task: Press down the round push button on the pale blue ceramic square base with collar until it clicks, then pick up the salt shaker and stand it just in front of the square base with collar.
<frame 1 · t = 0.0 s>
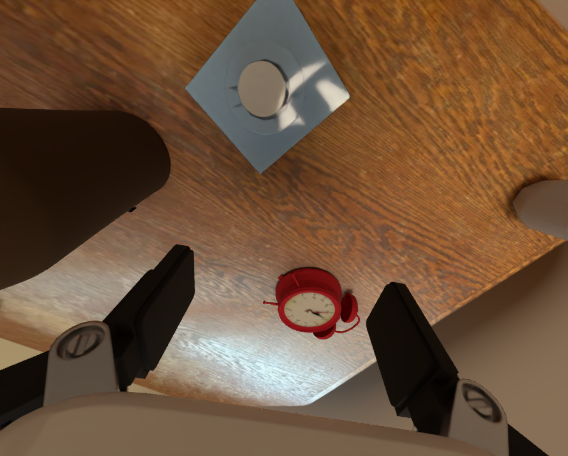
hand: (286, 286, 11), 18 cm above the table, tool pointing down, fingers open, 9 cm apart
olive oil: (132, 155, 26), on the table
round push button: (263, 91, 17), point 6 cm above the table, slide at 0.1 cm
square base with collar: (270, 94, 22), on the table
alarm clock: (316, 295, 36), on the table
salt shaker: (530, 197, 26), on the table
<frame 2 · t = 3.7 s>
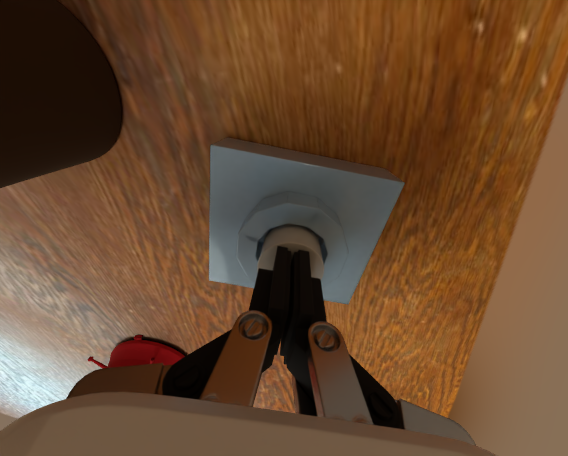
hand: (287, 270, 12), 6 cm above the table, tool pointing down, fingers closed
olive oil: (48, 84, 14), on the table
round push button: (290, 259, 13), point 5 cm above the table, slide at -0.2 cm, touching gripper
square base with collar: (292, 217, 17), on the table
alarm clock: (161, 367, 30), on the table
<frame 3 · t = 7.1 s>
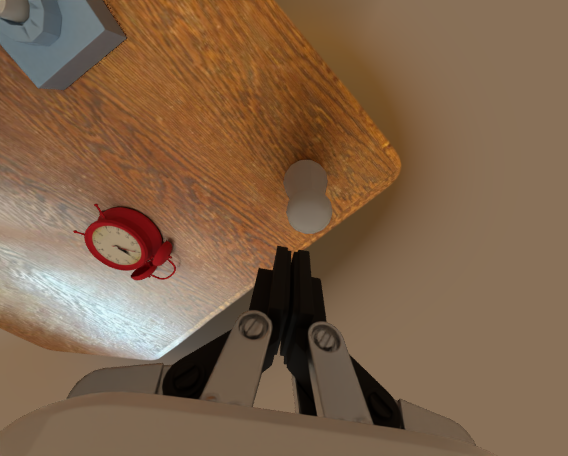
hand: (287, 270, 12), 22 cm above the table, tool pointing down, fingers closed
square base with collar: (57, 14, 24), on the table
alarm clock: (141, 240, 38), on the table
salt shaker: (304, 176, 31), on the table
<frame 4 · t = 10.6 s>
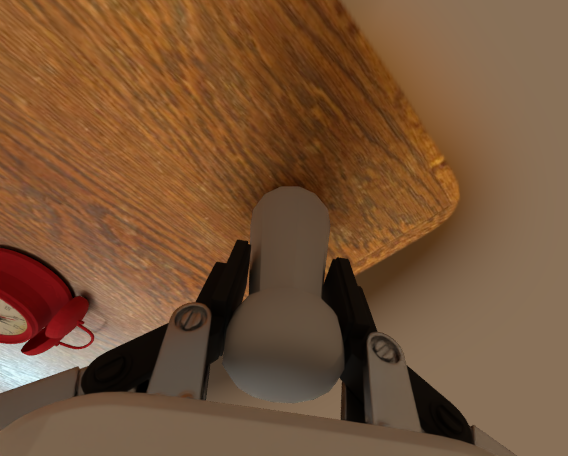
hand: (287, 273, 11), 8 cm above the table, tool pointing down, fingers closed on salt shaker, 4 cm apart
alarm clock: (43, 291, 25), on the table
salt shaker: (291, 210, 18), on the table, touching gripper
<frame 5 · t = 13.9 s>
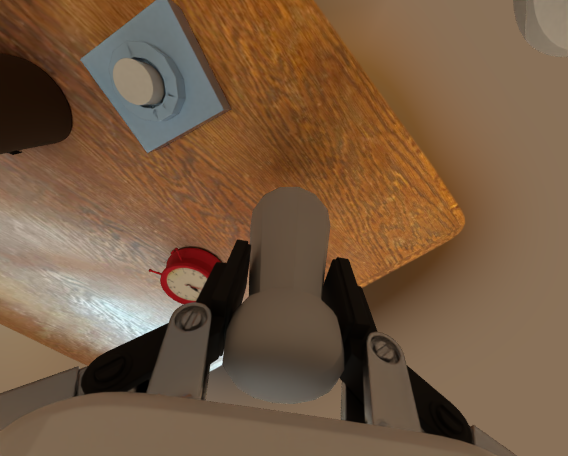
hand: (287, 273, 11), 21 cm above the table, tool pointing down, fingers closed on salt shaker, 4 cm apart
olive oil: (34, 103, 27), on the table
round push button: (140, 83, 21), point 6 cm above the table, slide at 0.1 cm
square base with collar: (169, 87, 26), on the table
alarm clock: (205, 275, 40), on the table
salt shaker: (290, 210, 18), point 13 cm above the table, touching gripper
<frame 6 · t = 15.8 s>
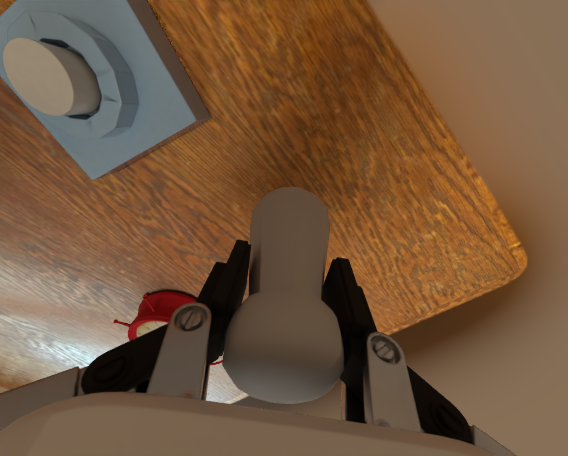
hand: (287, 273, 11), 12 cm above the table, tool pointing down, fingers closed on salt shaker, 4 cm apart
round push button: (56, 81, 13), point 6 cm above the table, slide at 0.1 cm
square base with collar: (122, 87, 18), on the table
alarm clock: (188, 320, 32), on the table
salt shaker: (290, 210, 18), point 4 cm above the table, touching gripper
when the fingers open (8 cm above the table, at t = 17.2 s): salt shaker stays where it is, on the table.
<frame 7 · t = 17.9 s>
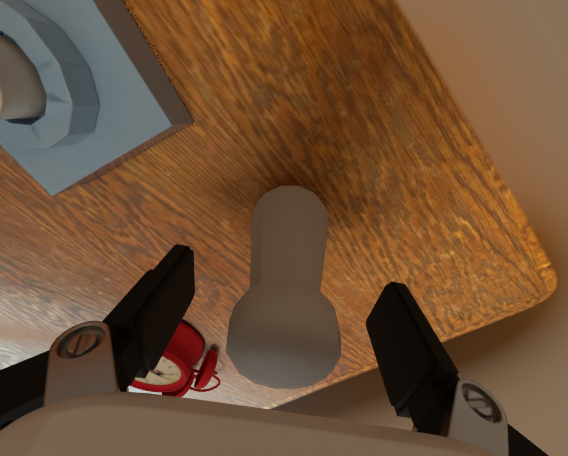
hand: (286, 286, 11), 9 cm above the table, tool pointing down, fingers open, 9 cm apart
square base with collar: (85, 85, 15), on the table
alarm clock: (176, 344, 29), on the table
salt shaker: (290, 208, 19), on the table
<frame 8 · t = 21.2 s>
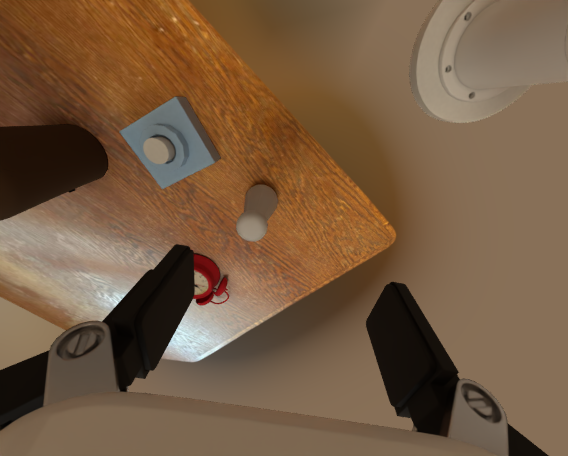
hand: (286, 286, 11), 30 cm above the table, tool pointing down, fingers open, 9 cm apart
olive oil: (81, 153, 39), on the table
round push button: (159, 150, 32), point 6 cm above the table, slide at 0.1 cm
square base with collar: (177, 144, 37), on the table
alarm clock: (204, 275, 51), on the table
salt shaker: (263, 195, 41), on the table
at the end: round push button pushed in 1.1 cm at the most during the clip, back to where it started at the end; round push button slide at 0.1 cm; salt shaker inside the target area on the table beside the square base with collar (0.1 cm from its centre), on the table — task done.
